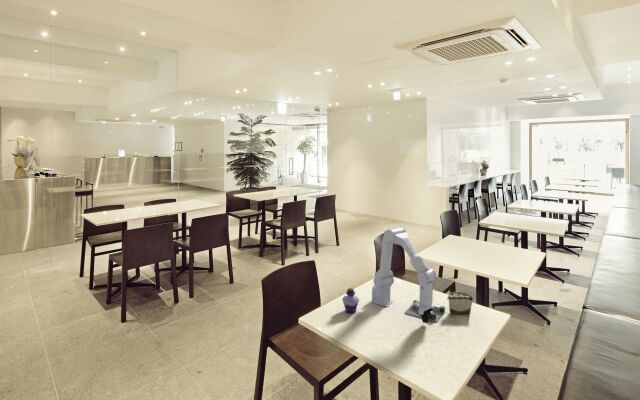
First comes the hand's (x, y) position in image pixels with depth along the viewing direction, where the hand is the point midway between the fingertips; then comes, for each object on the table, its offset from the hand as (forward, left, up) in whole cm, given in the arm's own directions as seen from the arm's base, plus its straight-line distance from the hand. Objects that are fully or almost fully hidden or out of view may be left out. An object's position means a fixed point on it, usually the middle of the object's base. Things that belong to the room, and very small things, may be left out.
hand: (425, 322), depth 156 cm
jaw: (-4, +10, -1) cm, 11 cm away
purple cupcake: (-36, -7, -2) cm, 37 cm away
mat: (-4, +11, -1) cm, 12 cm away
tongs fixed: (-3, +16, -1) cm, 16 cm away
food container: (+10, +21, -2) cm, 23 cm away
